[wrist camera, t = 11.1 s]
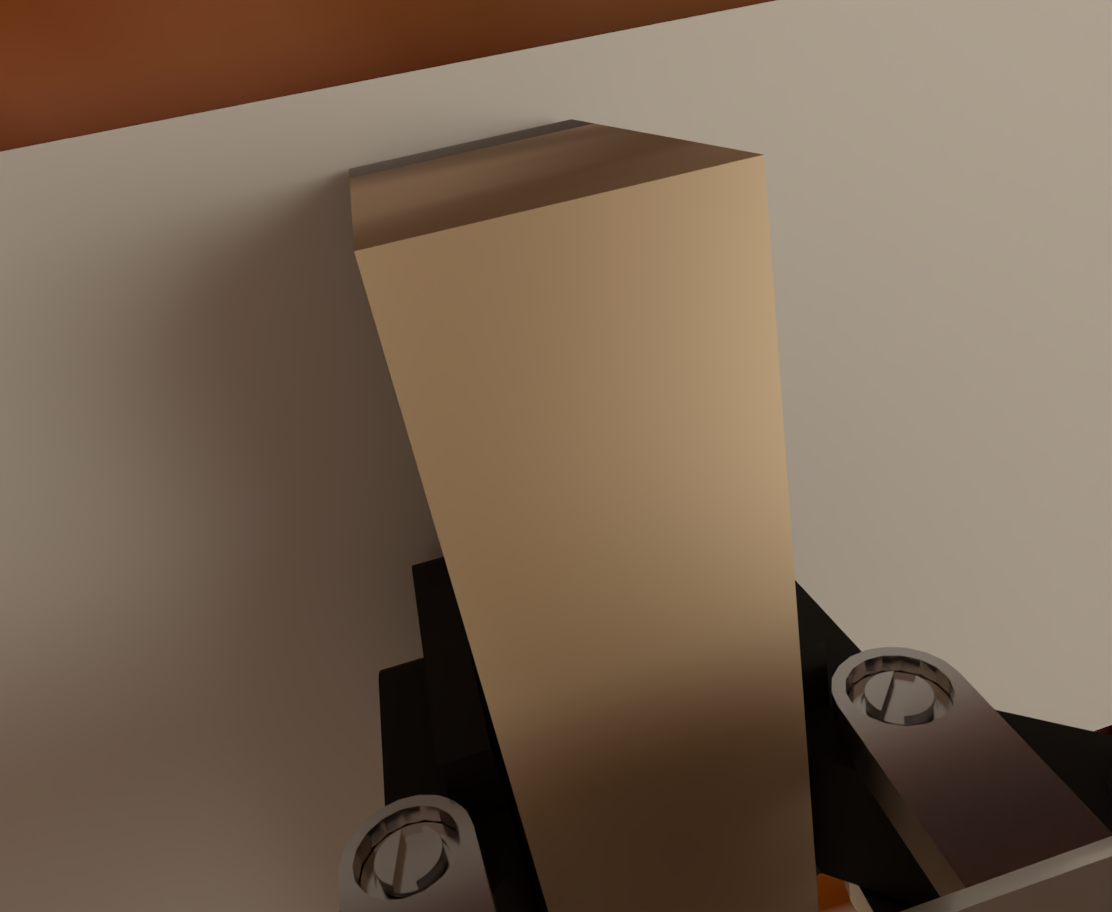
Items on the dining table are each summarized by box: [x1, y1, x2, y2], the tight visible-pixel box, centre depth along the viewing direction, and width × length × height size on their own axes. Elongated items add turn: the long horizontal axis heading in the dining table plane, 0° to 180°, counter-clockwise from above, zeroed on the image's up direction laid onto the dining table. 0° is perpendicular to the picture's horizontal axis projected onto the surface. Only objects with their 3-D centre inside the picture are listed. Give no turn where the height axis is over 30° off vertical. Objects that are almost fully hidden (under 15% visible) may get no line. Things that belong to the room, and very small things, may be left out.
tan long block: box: [349, 119, 819, 912], centre depth 10 cm, size 3×13×5 cm, turn 11°
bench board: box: [0, 0, 1112, 912], centre depth 14 cm, size 20×14×4 cm
